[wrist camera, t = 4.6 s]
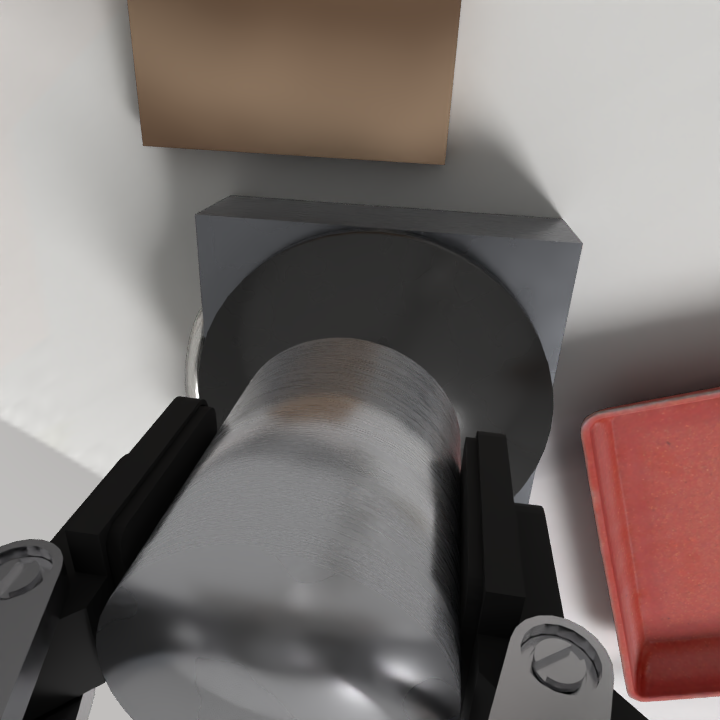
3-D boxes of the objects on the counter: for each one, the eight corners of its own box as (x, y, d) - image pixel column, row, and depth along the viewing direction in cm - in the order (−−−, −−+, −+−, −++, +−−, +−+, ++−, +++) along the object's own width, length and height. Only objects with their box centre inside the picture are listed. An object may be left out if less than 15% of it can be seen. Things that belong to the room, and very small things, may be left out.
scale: (217, 191, 26) (161, 218, 21) (559, 215, 25) (588, 250, 20) (232, 453, 32) (192, 523, 27) (508, 486, 31) (521, 566, 26)
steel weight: (233, 326, 12) (64, 524, 7) (474, 350, 12) (485, 587, 7) (245, 510, 15) (124, 764, 9) (447, 538, 14) (439, 825, 9)
